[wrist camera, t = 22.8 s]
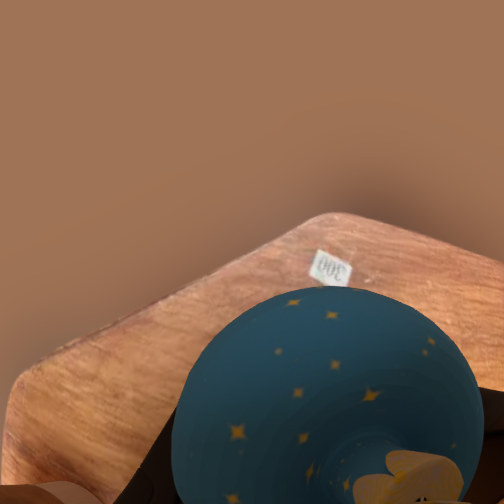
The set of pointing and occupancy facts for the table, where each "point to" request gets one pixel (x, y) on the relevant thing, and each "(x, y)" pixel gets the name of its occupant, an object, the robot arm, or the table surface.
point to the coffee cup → (47, 494)
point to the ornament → (328, 407)
